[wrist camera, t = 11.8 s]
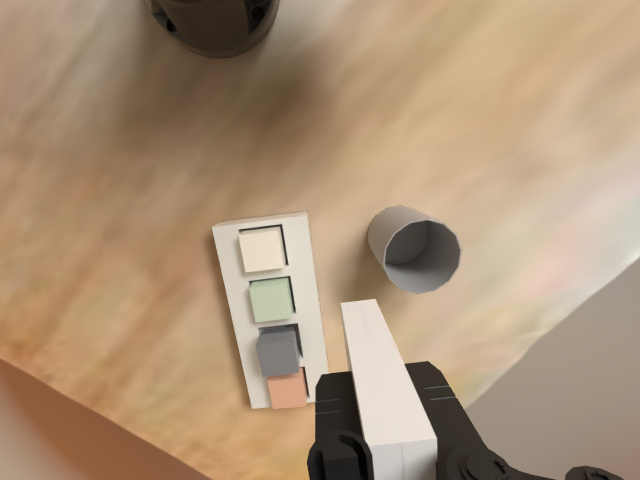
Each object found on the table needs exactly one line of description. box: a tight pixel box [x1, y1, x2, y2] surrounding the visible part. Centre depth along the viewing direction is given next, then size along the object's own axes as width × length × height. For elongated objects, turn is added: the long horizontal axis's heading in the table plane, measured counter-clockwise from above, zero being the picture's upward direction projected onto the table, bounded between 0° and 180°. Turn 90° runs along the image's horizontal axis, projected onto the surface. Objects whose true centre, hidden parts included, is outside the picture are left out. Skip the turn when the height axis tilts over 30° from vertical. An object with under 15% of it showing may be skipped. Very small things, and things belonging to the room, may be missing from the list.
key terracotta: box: [268, 367, 307, 410], centre depth 43 cm, size 5×5×4 cm
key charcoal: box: [256, 327, 300, 377], centre depth 40 cm, size 5×5×4 cm
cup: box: [368, 205, 462, 294], centre depth 36 cm, size 8×8×10 cm
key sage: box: [249, 276, 293, 322], centre depth 40 cm, size 5×5×4 cm
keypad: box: [212, 211, 329, 409], centre depth 42 cm, size 28×12×4 cm, turn 7°
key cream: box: [238, 227, 286, 272], centre depth 38 cm, size 5×5×4 cm
